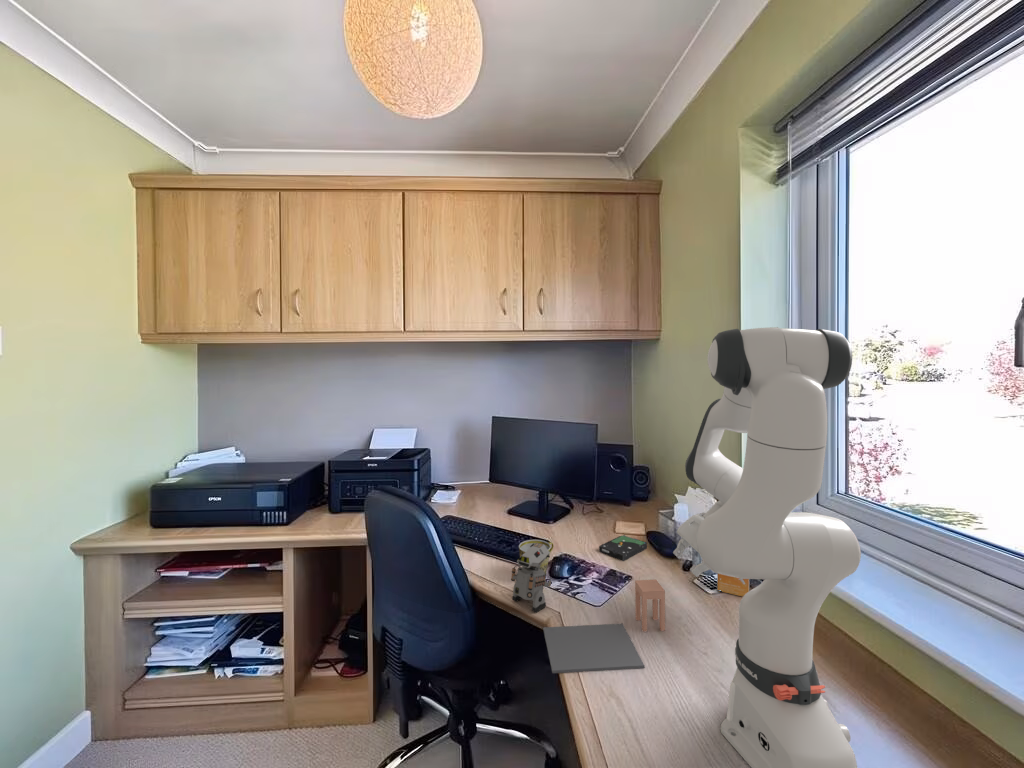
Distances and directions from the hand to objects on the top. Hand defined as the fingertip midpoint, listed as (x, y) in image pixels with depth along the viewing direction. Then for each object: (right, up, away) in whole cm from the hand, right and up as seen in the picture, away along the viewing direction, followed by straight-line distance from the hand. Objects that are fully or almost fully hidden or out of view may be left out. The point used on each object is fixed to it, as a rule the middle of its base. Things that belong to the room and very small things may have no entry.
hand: (684, 564), depth 106 cm
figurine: (-37, -15, +12) cm, 42 cm away
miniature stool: (-9, -15, 0) cm, 17 cm away
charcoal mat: (-25, -16, -8) cm, 31 cm away
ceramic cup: (-35, -15, +26) cm, 46 cm away
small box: (+21, -14, +16) cm, 30 cm away
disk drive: (-4, -14, +43) cm, 46 cm away
